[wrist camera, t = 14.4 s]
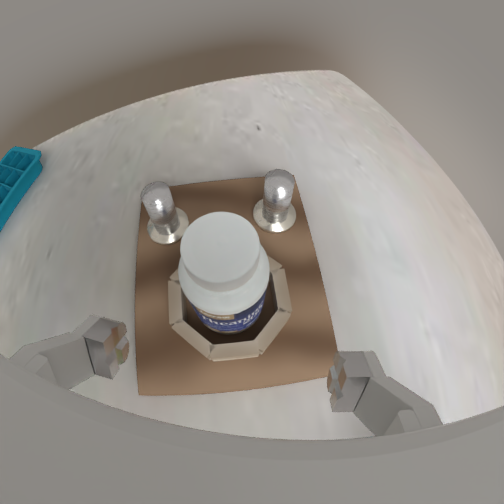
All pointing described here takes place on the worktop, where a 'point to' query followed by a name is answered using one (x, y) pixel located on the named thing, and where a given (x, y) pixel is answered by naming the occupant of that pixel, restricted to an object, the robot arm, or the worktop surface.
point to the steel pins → (265, 211)
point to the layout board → (241, 344)
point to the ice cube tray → (16, 178)
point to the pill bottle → (224, 271)
